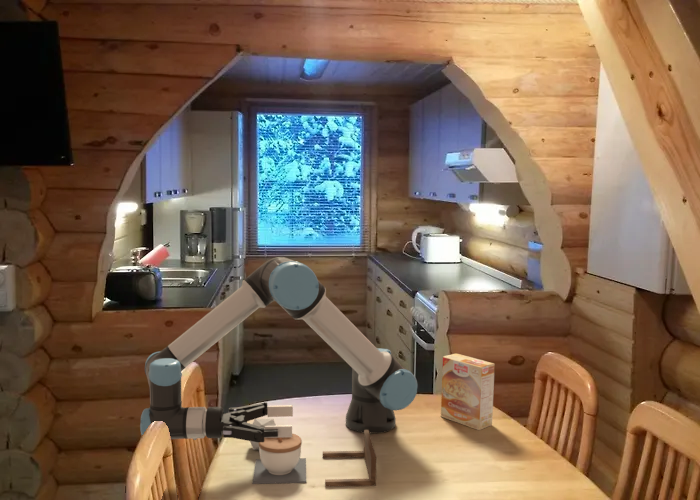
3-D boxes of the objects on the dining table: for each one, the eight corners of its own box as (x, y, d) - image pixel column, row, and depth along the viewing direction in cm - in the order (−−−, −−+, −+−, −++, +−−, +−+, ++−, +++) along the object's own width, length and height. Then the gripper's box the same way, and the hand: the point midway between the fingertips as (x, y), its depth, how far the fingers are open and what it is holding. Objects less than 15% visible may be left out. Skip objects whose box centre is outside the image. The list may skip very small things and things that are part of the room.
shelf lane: (367, 455, 171) (368, 429, 170) (375, 485, 153) (376, 457, 153) (322, 455, 170) (322, 430, 169) (325, 486, 152) (325, 458, 152)
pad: (305, 459, 167) (305, 458, 167) (306, 482, 154) (306, 481, 154) (256, 460, 166) (256, 459, 166) (252, 483, 153) (252, 482, 153)
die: (264, 459, 168) (285, 427, 170) (238, 441, 169) (258, 410, 171) (268, 457, 176) (287, 427, 178) (242, 440, 177) (262, 410, 179)
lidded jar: (283, 457, 167) (284, 422, 167) (310, 470, 160) (310, 434, 159) (250, 469, 160) (250, 433, 159) (276, 483, 152) (276, 446, 151)
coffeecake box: (439, 416, 200) (441, 356, 198) (454, 411, 205) (456, 352, 203) (478, 431, 189) (481, 367, 187) (493, 425, 194) (495, 362, 192)
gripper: (213, 418, 170) (292, 416, 172) (198, 458, 145) (291, 456, 147) (212, 391, 169) (292, 389, 171) (198, 427, 144) (291, 425, 146)
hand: (292, 420), depth 159 cm, fingers open, 13 cm apart
